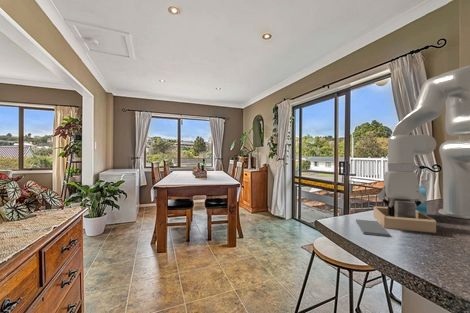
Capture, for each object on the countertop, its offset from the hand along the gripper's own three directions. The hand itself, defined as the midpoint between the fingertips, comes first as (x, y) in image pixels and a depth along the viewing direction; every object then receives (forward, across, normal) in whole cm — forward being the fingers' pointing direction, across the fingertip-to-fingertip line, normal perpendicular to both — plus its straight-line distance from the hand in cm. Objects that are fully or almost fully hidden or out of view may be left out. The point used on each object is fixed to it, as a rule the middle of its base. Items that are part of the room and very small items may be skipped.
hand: (401, 217), depth 77 cm
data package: (+3, -10, -13) cm, 17 cm away
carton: (+2, 0, 0) cm, 2 cm away
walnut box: (+2, 0, 0) cm, 2 cm away
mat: (+2, +12, +9) cm, 15 cm away
